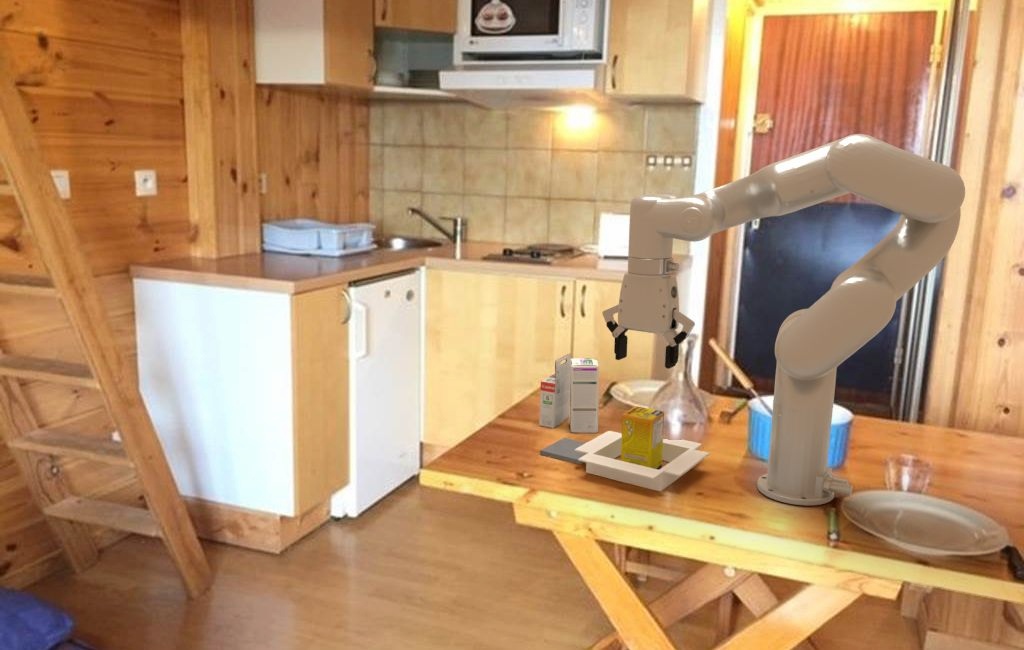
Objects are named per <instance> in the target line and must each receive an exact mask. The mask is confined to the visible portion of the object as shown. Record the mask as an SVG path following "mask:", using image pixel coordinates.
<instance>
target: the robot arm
mask: <svg viewBox="0 0 1024 650" xmlns="http://www.w3.org/2000/svg"><path fill="white" fill-rule="evenodd" d="M848 194H853V196H854V195H855V196H856V197H860V198H861V199H864V200H866V201H868V202H871V203H873V204H876V205H878V206H880V207H883V208H886V209H888V210H891V211H893V212H896V213H897V214H901V215H900V217H899V220H898V222H897V224H896V225H895V226H894V228H893V229H892V230H891V231H890V232H889V233H887V235H886V236H884V237H883V238H882V239H881V240H879V242H878V243H877V244H876V245H875V246H874V247H873V248H871V250H869V251H868V252H867V253H865V254H864V255H863V256H862V257H861V258H860V259H858V260H857V261H856V262H854V264H852V265H851V266H850V267H848V268H846V269H845V270H844V271H842V272H841V273H840V274H839V275H838V276H837V277H836V278H835V279H834V280H833V282H832V285H831V287H830V288H829V290H828V291H826V292H825V294H823V295H822V296H821V297H820V298H819V299H818V300H816V301H815V302H814V303H813V304H812V305H811V306H809V307H808V308H802V309H799V310H796V311H794V312H792V313H790V314H789V315H788V316H787V317H786V318H785V319H784V320H783V322H782V323H781V325H780V327H779V330H778V333H777V336H776V339H775V343H774V356H775V360H776V367H775V368H776V369H775V377H774V378H775V379H774V391H773V400H772V402H773V403H772V411H771V423H770V427H771V428H770V436H769V437H770V440H769V452H768V463H767V473H764V474H763V475H761V476H759V477H758V478H757V487H756V488H757V490H758V491H759V492H760V493H761V494H763V495H764V496H765V497H768V498H769V499H771V500H774V501H777V502H781V503H784V504H790V505H796V506H821V505H825V504H827V503H830V502H831V501H833V499H834V498H835V493H836V494H838V495H840V496H841V495H842V496H846V497H851V496H852V493H853V489H854V486H853V484H849V479H843V478H837V477H835V475H832V472H833V468H832V467H829V466H828V464H829V463H828V462H829V452H830V442H831V430H832V422H833V421H832V420H833V410H834V409H833V408H834V402H835V391H836V390H835V389H836V382H837V380H836V379H837V369H838V367H839V366H840V365H842V363H844V361H846V360H847V359H849V358H850V357H851V356H852V355H854V354H855V353H856V352H857V351H858V350H859V349H861V348H862V347H864V346H865V345H866V344H867V343H869V341H870V340H872V339H873V338H875V337H876V336H877V335H878V334H879V333H880V332H881V331H882V330H883V329H884V328H885V327H886V326H887V325H888V324H889V322H890V321H891V320H892V318H893V316H894V314H895V313H896V308H897V302H898V301H899V300H900V299H901V298H902V297H903V296H904V295H905V294H906V293H908V292H909V291H910V290H911V289H912V288H914V286H916V285H917V284H918V283H919V282H920V281H921V280H922V279H923V278H924V277H926V276H927V275H928V274H930V273H931V271H932V270H934V268H935V267H937V265H939V263H941V261H942V260H944V259H945V257H946V255H947V254H948V253H949V251H950V250H951V248H952V246H953V244H954V242H955V240H956V238H957V234H958V231H959V227H960V223H961V222H960V221H961V215H962V214H961V213H962V212H961V211H962V210H961V207H962V205H963V203H964V201H965V197H966V186H965V183H964V180H963V178H962V176H961V175H960V174H959V172H957V171H956V170H955V169H954V168H952V167H950V166H948V165H946V164H943V163H940V162H938V161H935V160H932V159H929V158H926V157H924V156H922V155H919V154H916V153H914V152H910V151H908V150H905V149H902V148H899V147H898V146H895V145H892V144H889V143H887V142H885V141H883V140H881V139H878V138H876V137H874V136H871V135H868V134H864V133H854V134H850V135H847V136H845V137H843V138H840V139H836V140H834V141H831V142H827V143H825V144H823V145H820V146H817V147H815V148H812V149H809V150H807V151H803V152H801V153H798V154H795V155H792V156H790V157H786V158H784V159H782V160H778V161H776V162H773V163H770V164H769V165H765V166H764V167H761V169H759V170H757V171H755V172H753V173H752V174H749V175H747V176H744V177H743V178H739V179H737V180H734V181H731V182H728V183H726V184H723V185H721V186H717V187H714V188H711V189H708V190H706V191H704V192H699V193H696V194H693V195H690V196H684V197H670V196H669V195H663V194H640V195H635V196H634V197H632V198H631V201H630V206H629V207H630V208H629V227H628V228H629V229H628V230H629V231H628V258H627V272H625V273H624V274H623V279H622V282H621V286H620V292H619V298H618V304H617V305H614V306H611V307H609V308H607V309H605V310H603V311H602V312H601V313H602V317H603V319H604V321H605V323H606V324H605V325H606V328H607V329H608V331H610V332H611V336H612V338H614V345H613V346H614V350H613V352H614V354H615V360H616V361H620V360H622V359H625V358H627V357H628V335H626V333H627V332H628V331H629V330H630V331H635V332H642V333H650V334H657V335H662V336H663V337H664V339H665V341H666V342H667V343H668V345H666V346H665V359H664V367H665V369H671V368H674V367H676V365H677V363H678V362H679V352H680V351H679V350H680V344H682V343H683V342H684V341H685V340H687V338H688V337H689V336H690V333H691V332H692V331H693V329H694V327H695V325H696V324H695V321H694V320H692V319H691V318H690V317H688V316H686V315H685V314H684V313H682V312H680V297H679V287H678V281H677V275H674V274H673V271H676V272H678V271H679V269H680V264H679V263H678V262H675V261H674V257H673V243H674V240H675V239H676V240H679V241H684V242H685V241H686V242H694V243H695V242H701V241H704V240H706V239H708V238H709V237H711V236H712V235H714V234H716V233H720V232H722V231H725V230H728V229H731V228H735V227H737V226H740V225H743V224H745V223H749V222H752V221H755V220H760V219H764V218H768V217H770V218H771V217H780V216H785V215H788V214H791V213H795V212H798V211H800V210H802V209H806V208H809V207H812V206H814V205H818V204H820V203H823V202H828V201H829V200H833V199H836V198H839V197H841V196H846V195H848ZM615 314H617V321H616V320H615V317H614V315H615ZM679 324H680V325H682V329H681V331H680V332H679V333H678V332H677V329H678V328H679Z"/></svg>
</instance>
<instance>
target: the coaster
mask: <svg viewBox="0 0 1024 650" xmlns="http://www.w3.org/2000/svg"><path fill="white" fill-rule="evenodd" d="M585 443H587V442H585V441H580V440H576V439H573V438H569V437H563V438H561V439H559V440H557V441H555V442H553V443H552V444H550V445H548V446H546V447H544V448H542V449H540V451H539V455H541V456H545V457H549V458H553V459H557V460H561V461H565V462H570V463H573V464H577V465H583V464H584V463H585V464H586V462H582V461H578V459H579V458H581V457H582V456H584V455H586V454H585V453H581V452H577V451H574V450H575V449H576V448H578V447H580V446H582V445H583V444H585Z"/></svg>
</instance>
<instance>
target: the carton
mask: <svg viewBox="0 0 1024 650" xmlns="http://www.w3.org/2000/svg"><path fill="white" fill-rule="evenodd" d="M621 439H622V432H616V431H612V430H607V431H605V432H604V433H602V434H599V435H598V436H596V437H595V438H592V439H591V440H589V441H587V442H586V443H585V444H583V445H582V446H580V447H578V448H576V449H575V450H574V451H577V452H581V453H585V454H586V455H584V456H582V457H581V458H579V459H578V461H582V462H585V466H586V467H585V469H586V470H585V473H586V474H590V475H595V476H597V477H602V478H606V479H610V480H613V481H617V482H621V483H625V484H629V485H633V486H638V487H641V488H645V489H649V490H653V491H657V492H662V491H664V490H665V489H666V488H667V487H669V486H670V485H672V483H674V482H676V481H677V480H678V479H680V478H681V477H683V476H684V475H685V474H686V473H687V472H689V471H690V470H691V469H693V468H695V466H696V465H697V464H699V463H700V462H701V461H703V460H704V459H705V458H706V457H708V456H710V452H707V451H702V450H698V449H699V448H700V447H702V446H703V444H702V443H699V442H696V441H692V440H691V441H690V440H687V439H682V440H668V439H663V449H662V462H663V461H664V462H667V464H665V465H664V466H662V467H661V468H660V469H659V470H658V469H653V468H649V467H645V466H641V465H637V464H633V463H629V462H625V461H621V459H616V458H617V457H619V456H621Z"/></svg>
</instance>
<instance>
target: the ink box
mask: <svg viewBox="0 0 1024 650" xmlns="http://www.w3.org/2000/svg"><path fill="white" fill-rule="evenodd" d="M571 359H572V357H571V353H570V352H569V353H567V354H566V355H564V356H561V357H560V358H558V359H556V360H555V361H554V371H555V372H554V374H551V375H549V376H547V377H546V378H544V379H542V380H541V381H540V395H539V396H540V397H539V400H540V401H539V422H538V423H539V424H538V425H539V427H545V428H551V429H554V428H556V427H558V426H560V425H561V424H562V423H564V422H565V421H566V420H568V419H570V368H571ZM564 360H565V362H563V361H564ZM562 362H563V363H562ZM561 363H562V364H561Z"/></svg>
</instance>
